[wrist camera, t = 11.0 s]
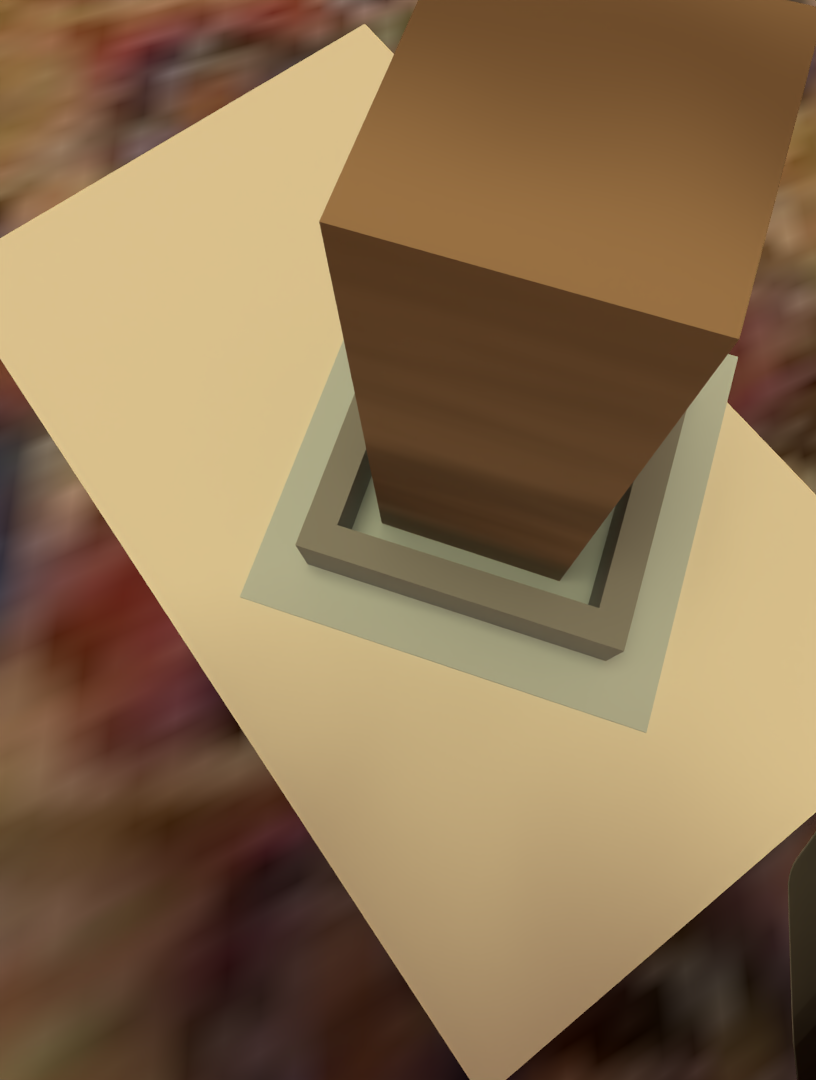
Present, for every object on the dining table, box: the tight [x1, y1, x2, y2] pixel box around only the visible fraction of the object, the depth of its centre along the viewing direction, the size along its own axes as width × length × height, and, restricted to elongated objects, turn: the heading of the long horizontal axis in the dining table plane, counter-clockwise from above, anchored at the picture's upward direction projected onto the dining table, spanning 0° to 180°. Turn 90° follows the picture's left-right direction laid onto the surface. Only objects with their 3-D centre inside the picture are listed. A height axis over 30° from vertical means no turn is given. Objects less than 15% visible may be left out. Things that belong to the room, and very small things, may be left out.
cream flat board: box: [0, 24, 816, 1080], centre depth 20 cm, size 17×27×2 cm, turn 36°
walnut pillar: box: [319, 0, 816, 581], centre depth 15 cm, size 5×5×12 cm
